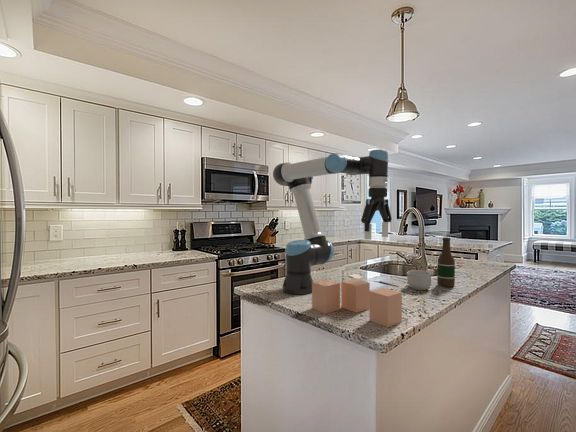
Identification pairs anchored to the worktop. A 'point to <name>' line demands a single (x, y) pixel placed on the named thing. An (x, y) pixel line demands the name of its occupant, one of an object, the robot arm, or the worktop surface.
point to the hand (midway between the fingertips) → (376, 238)
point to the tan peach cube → (385, 307)
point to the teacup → (419, 279)
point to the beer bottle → (446, 266)
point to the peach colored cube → (326, 296)
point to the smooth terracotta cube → (355, 295)
